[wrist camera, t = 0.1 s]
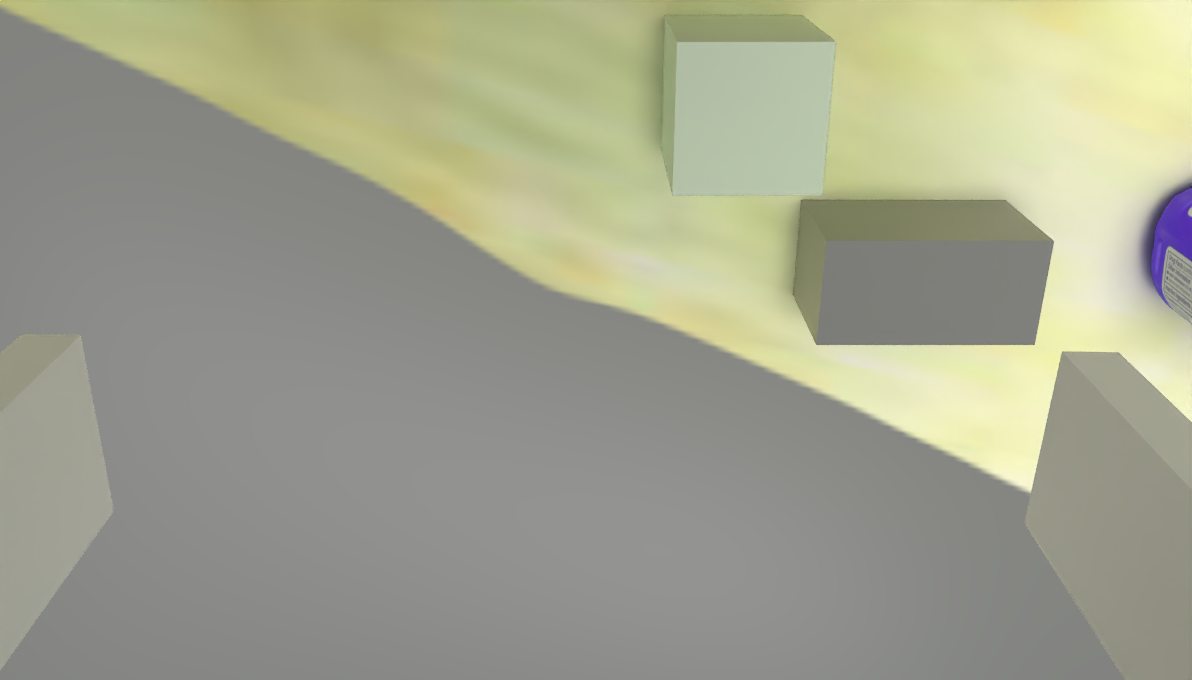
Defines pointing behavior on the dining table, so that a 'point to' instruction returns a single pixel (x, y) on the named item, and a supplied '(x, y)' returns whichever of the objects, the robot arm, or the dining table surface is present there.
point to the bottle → (1175, 255)
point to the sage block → (745, 104)
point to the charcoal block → (920, 272)
